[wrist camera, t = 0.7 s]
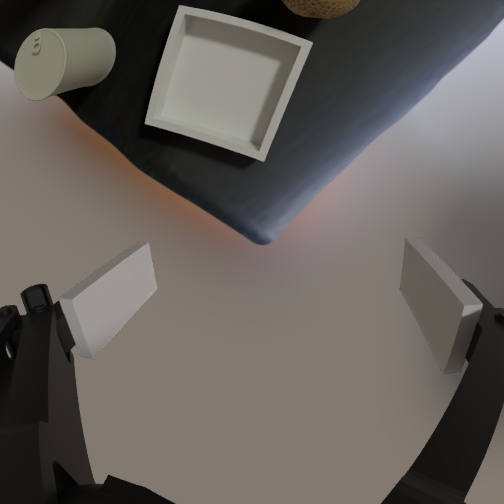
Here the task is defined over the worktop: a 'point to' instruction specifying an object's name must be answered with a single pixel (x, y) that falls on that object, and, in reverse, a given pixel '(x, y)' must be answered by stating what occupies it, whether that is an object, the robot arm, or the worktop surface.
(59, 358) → the robot arm
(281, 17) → the worktop surface
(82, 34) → the can
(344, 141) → the worktop surface
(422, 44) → the worktop surface
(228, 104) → the tray
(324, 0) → the natural sponge
